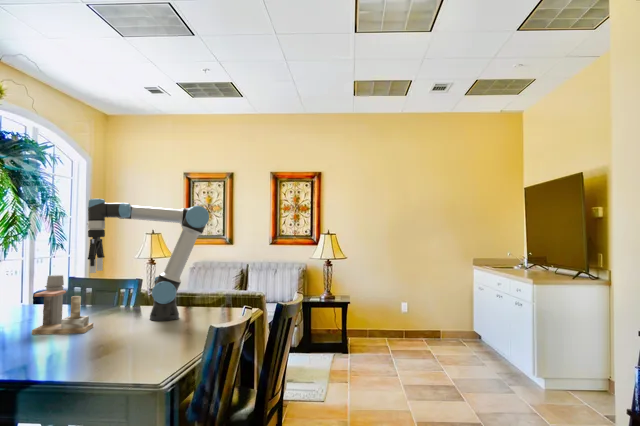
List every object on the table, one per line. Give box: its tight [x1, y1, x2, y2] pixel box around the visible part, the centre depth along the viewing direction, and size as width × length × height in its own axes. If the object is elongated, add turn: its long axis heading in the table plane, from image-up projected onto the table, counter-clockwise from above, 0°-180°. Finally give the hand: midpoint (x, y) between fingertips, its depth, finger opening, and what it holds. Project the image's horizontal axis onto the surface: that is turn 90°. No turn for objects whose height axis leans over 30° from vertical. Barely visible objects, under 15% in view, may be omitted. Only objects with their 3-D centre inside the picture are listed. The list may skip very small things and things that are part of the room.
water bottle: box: [42, 274, 65, 324], centre depth 213 cm, size 9×8×25 cm
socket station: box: [31, 289, 94, 336], centre depth 204 cm, size 22×13×18 cm, turn 102°
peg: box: [69, 295, 82, 319], centre depth 204 cm, size 4×4×14 cm
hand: (96, 271), depth 215 cm, fingers open, 13 cm apart
